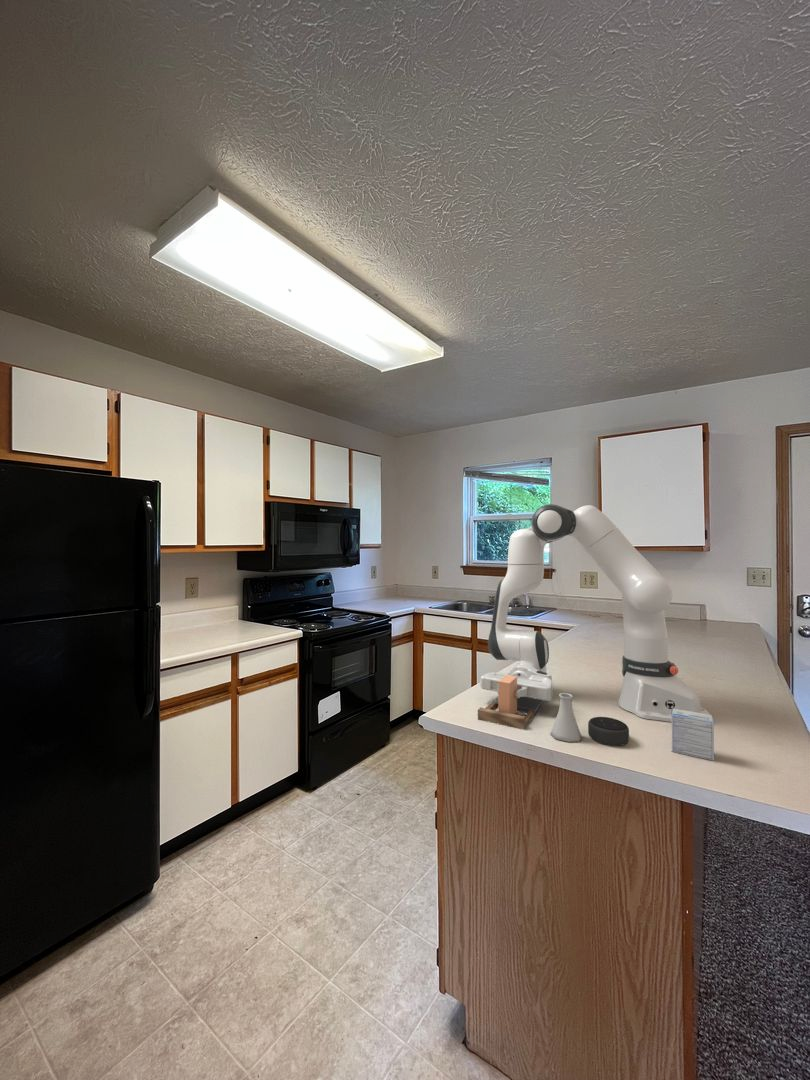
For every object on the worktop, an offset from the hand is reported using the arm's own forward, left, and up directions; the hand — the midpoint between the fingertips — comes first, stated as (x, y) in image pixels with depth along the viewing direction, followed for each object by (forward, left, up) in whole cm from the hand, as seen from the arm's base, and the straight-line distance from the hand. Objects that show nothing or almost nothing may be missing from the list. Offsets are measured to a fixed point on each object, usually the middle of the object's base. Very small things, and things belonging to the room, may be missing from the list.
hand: (508, 693), depth 118 cm
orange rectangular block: (0, 0, -6) cm, 6 cm away
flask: (-16, +5, -6) cm, 18 cm away
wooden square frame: (0, 0, -6) cm, 6 cm away
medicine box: (-42, -1, -6) cm, 42 cm away
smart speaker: (-25, +1, -7) cm, 26 cm away
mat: (0, -12, -6) cm, 13 cm away
